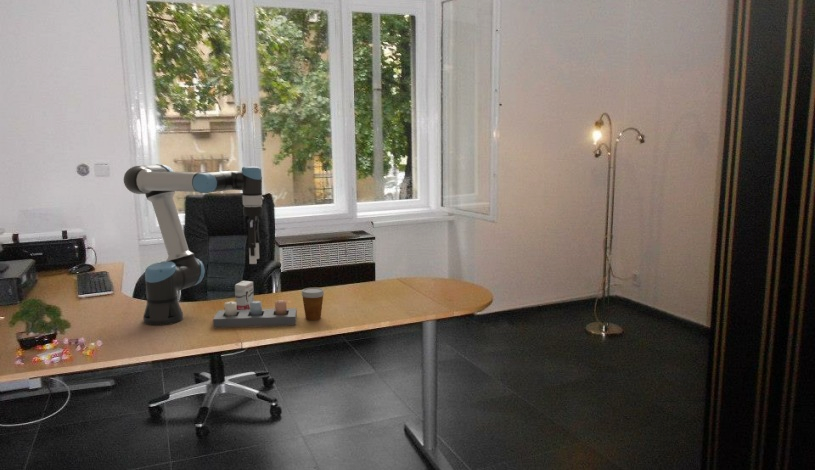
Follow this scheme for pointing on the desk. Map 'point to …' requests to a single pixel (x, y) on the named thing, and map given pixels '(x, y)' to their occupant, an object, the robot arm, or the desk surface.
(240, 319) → the button panel
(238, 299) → the ink box
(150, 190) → the robot arm
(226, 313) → the cream button
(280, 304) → the pink rounded piece
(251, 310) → the slate button
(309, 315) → the disposable coffee cup
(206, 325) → the desk surface
